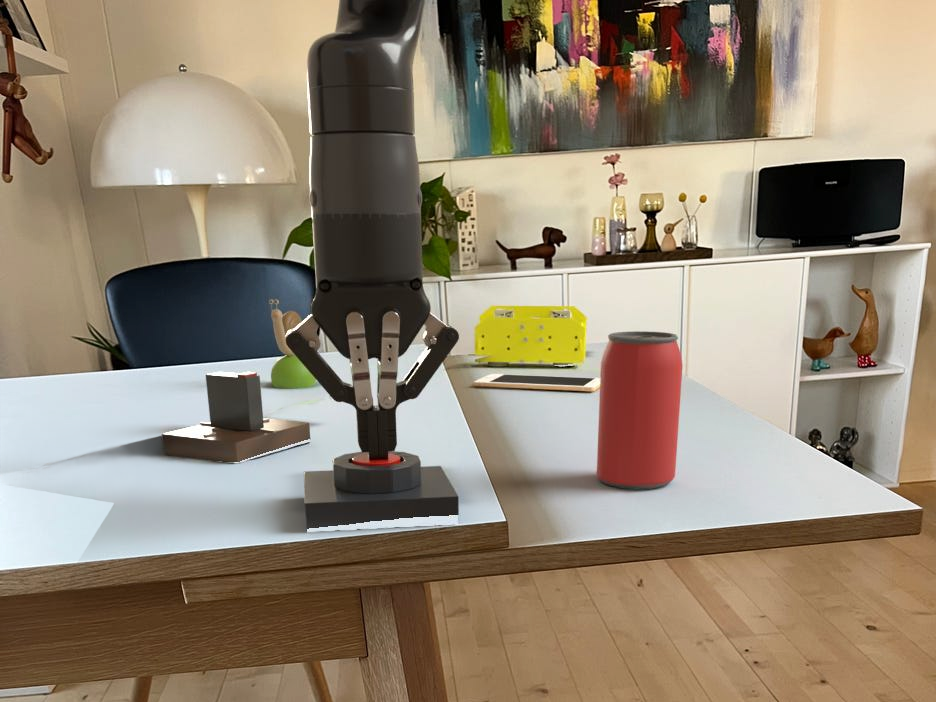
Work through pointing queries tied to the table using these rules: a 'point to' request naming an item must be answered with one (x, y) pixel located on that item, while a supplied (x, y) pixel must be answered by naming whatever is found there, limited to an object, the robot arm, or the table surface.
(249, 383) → the dark grey rectangular block
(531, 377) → the cell phone
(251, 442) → the dial panel
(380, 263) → the robot arm
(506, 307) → the yellow toy chassis
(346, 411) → the table surface
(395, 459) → the button
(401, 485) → the button block
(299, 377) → the snail figurine
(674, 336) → the beer can
